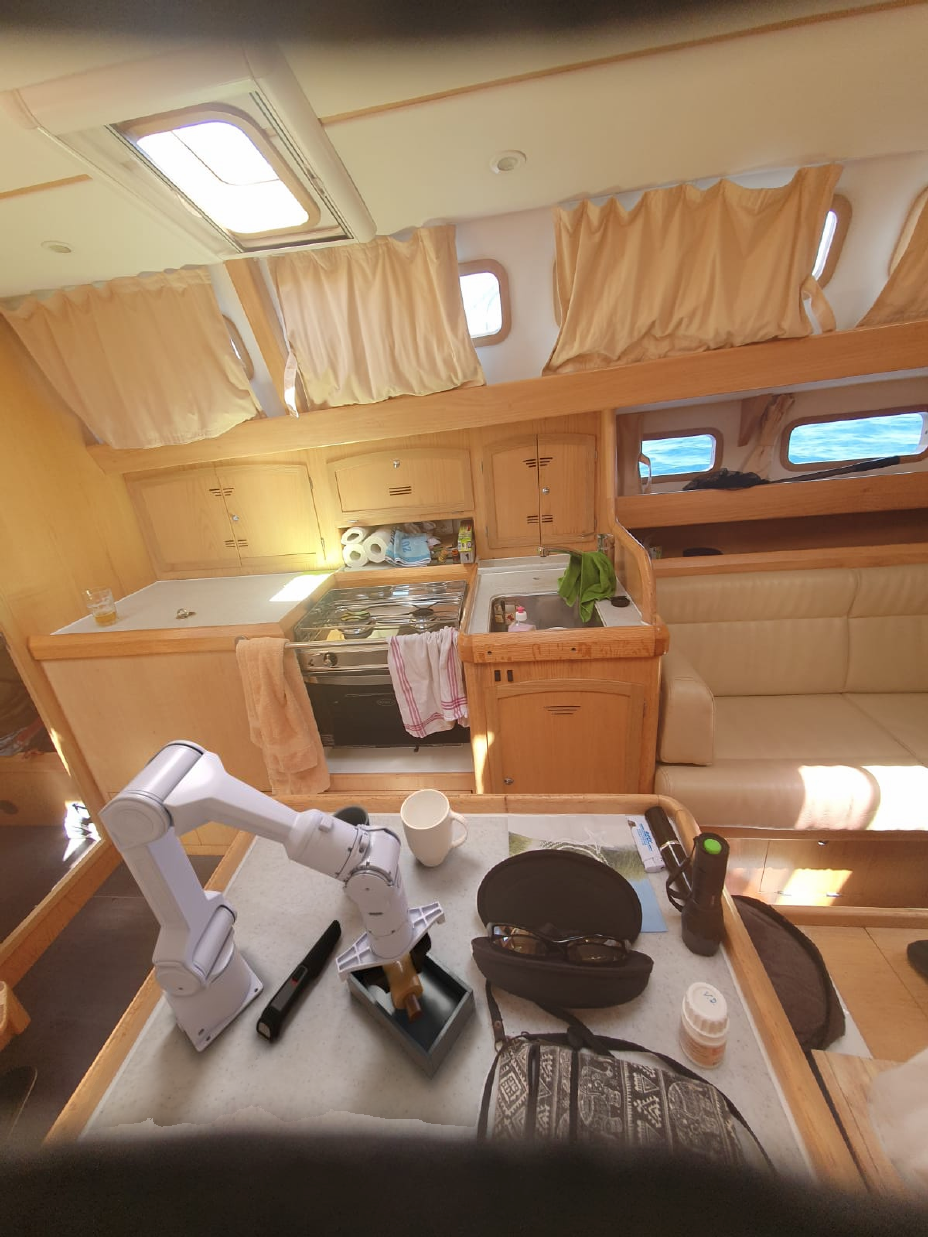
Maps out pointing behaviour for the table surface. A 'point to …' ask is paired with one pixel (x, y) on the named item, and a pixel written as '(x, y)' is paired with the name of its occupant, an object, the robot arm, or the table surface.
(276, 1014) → the electric trimmer
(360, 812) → the cup
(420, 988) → the rolling pin
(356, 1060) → the table surface
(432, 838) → the mug
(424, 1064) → the tin
